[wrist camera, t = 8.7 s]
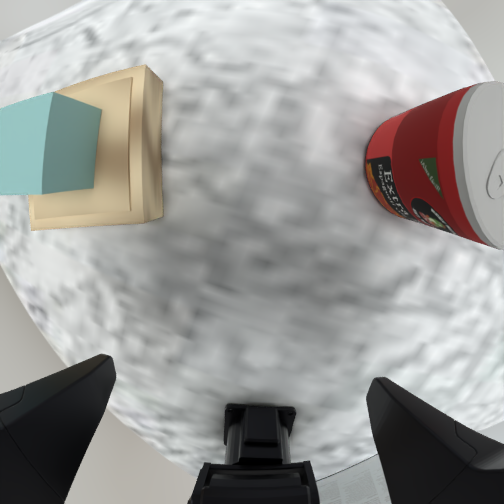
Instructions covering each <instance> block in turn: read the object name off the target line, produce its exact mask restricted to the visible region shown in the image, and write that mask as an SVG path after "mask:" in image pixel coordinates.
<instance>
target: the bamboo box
mask: <svg viewBox="0 0 504 504" xmlns="http://www.w3.org/2000/svg"><path fill="white" fill-rule="evenodd" d="M55 93H58V94H61V95H64V96H67V97H70V98H73V99H75V100H78V101H81V102H84V103H86V104H89V105H92V106H94V107H97V108H99V109H102V111H101V117H100V124H99V131H98V140H97V149H96V159H95V172H94V188H91V189H82V190H73V191H65V192H57V193H50V194H43V195H28V198H29V213H30V224H31V231H35V230H47V229H60V228H73V227H88V226H104V225H121V224H141V223H146V222H149V221H152V220H154V219H157V218H160V217H163V199H162V167H161V123H162V93H163V81H162V80H161V79H160V78H159V77H158V76H157V75H156V74H155V73H154V72H153V71H152V70H151V69H150V68H149V67H148V66H147V65H141V66H136V67H132V68H128V69H124V70H120V71H116V72H112V73H109V74H105V75H102V76H98V77H95V78H92V79H89V80H86V81H83V82H80V83H77V84H74V85H71V86H68V87H66V88H63V89H61V90H58V91H55Z"/></svg>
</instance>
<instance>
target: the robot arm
mask: <svg viewBox="0 0 504 504" xmlns="http://www.w3.org/2000/svg"><path fill="white" fill-rule="evenodd" d="M115 381H116V371H115V367H114V362H113V358H112V357H111V356H109V355H105V354H99V355H97V356H94V357H92V358H90V359H87V360H85V361H83V362H80V363H78V364H76V365H73V366H71V367H69V368H66V369H64V370H61V371H59V372H57V373H54V374H52V375H49V376H47V377H44V378H42V379H40V380H37V381H34V382H32V383H30V384H27V385H26V386H22V387H19V388H17V389H14V390H11V391H8V392H5V393H2V394H0V504H64V501H65V500H66V497H67V495H68V492H69V490H70V488H71V485H72V483H73V480H74V478H75V476H76V473H77V471H78V469H79V466H80V464H81V462H82V459H83V457H84V455H85V453H86V450H87V448H88V446H89V444H90V442H91V440H92V437H93V435H94V433H95V431H96V429H97V427H98V425H99V423H100V421H101V418H102V416H103V414H104V412H105V409H106V406H107V403H108V400H109V398H110V395H111V392H112V389H113V386H114V384H115ZM366 402H367V407H368V412H369V418H370V423H371V429H372V434H373V438H374V441H375V445H376V448H377V452H378V455H379V459H380V462H381V466H382V469H383V473H384V477H385V480H386V484H387V488H388V492H389V496H390V500H391V504H504V444H502V443H500V442H498V441H495V440H493V439H491V438H488V437H486V436H484V435H482V434H480V433H478V432H476V431H474V430H472V429H470V428H468V427H466V426H465V425H463V424H461V423H459V422H458V421H456V420H455V421H454V419H453V418H451V417H449V416H448V415H446V414H444V413H443V412H441V411H439V410H438V409H436V408H434V407H433V406H431V405H429V404H428V403H426V402H424V401H423V400H421V399H420V398H418V397H416V396H415V395H413V394H412V393H410V392H408V391H407V390H405V389H404V388H402V387H400V386H399V385H397V384H396V383H394V382H392V381H391V380H389V379H388V378H386V377H376V378H374V379H373V381H372V383H371V386H370V388H369V391H368V393H367V396H366ZM230 409H232V410H230ZM289 412H291V413H289ZM295 416H296V410H295V408H291V407H260V406H245V405H232V404H229V405H227V406H226V407H225V426H224V445H226V446H227V447H226V456H225V464H211V463H207V462H204V465H203V468H202V469H201V470H200V473H199V476H198V478H197V481H196V484H195V487H194V490H193V493H192V496H191V497H190V499H189V500H188V503H187V504H320V498H319V492H318V488H317V484H316V481H315V477H314V473H313V470H312V466H311V463H310V461H303V462H299V463H291V458H290V448H289V437H290V433H291V430H292V426H293V423H294V419H295Z"/></svg>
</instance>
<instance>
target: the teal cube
mask: <svg viewBox="0 0 504 504" xmlns="http://www.w3.org/2000/svg"><path fill="white" fill-rule="evenodd" d="M101 111H102V109H99V108H97V107H94V106H92V105H89V104H86V103H84V102H81V101H78V100H75V99H73V98H70V97H67V96H64V95H61V94H58V93H55V92H51V93H47V94H43V95H40V96H36V97H33V98H30V99H27V100H23V101H20V102H17V103H15V104H12V105H9V106H6V107H3V108H1V109H0V195H43V194H50V193H57V192H65V191H73V190H82V189H91V188H94V172H95V159H96V149H97V140H98V131H99V124H100V117H101Z"/></svg>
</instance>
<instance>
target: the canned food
mask: <svg viewBox="0 0 504 504" xmlns="http://www.w3.org/2000/svg"><path fill="white" fill-rule="evenodd" d="M365 168H366V174H367V179H368V182H369V185H370V188H371V189H372V191H373V193H374V195H375V196H376V198H377V199H378V200H379V201H380V203H381V204H382V205H383V206H384V207H385V208H386V209H387V210H388V211H390V212H391V213H393V214H395V215H397V216H398V217H402V218H405V219H408V220H412V221H415V222H418V223H421V224H424V225H428V226H431V227H434V228H437V229H440V230H443V231H446V232H449V233H452V234H455V235H458V236H461V237H463V238H466V239H469V240H472V241H475V242H478V243H481V244H484V245H487V246H490V247H493V248H496V249H502V250H504V83H501V82H497V81H491V82H484V83H478V84H475V85H472V86H469V87H466V88H462V89H460V90H457V91H454V92H452V93H449V94H447V95H444V96H442V97H439V98H437V99H434V100H432V101H429V102H427V103H425V104H422V105H420V106H417V107H415V108H413V109H410V110H408V111H406V112H403V113H401V114H399V115H397V116H394V117H392V118H390V119H389V120H387V121H385V122H384V123H383V124H382V125H381V126H380V127H379V128H378V129H377V130H376V132H375V133H374V135H373V136H372V138H371V141H370V143H369V146H368V148H367V153H366V167H365Z"/></svg>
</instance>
